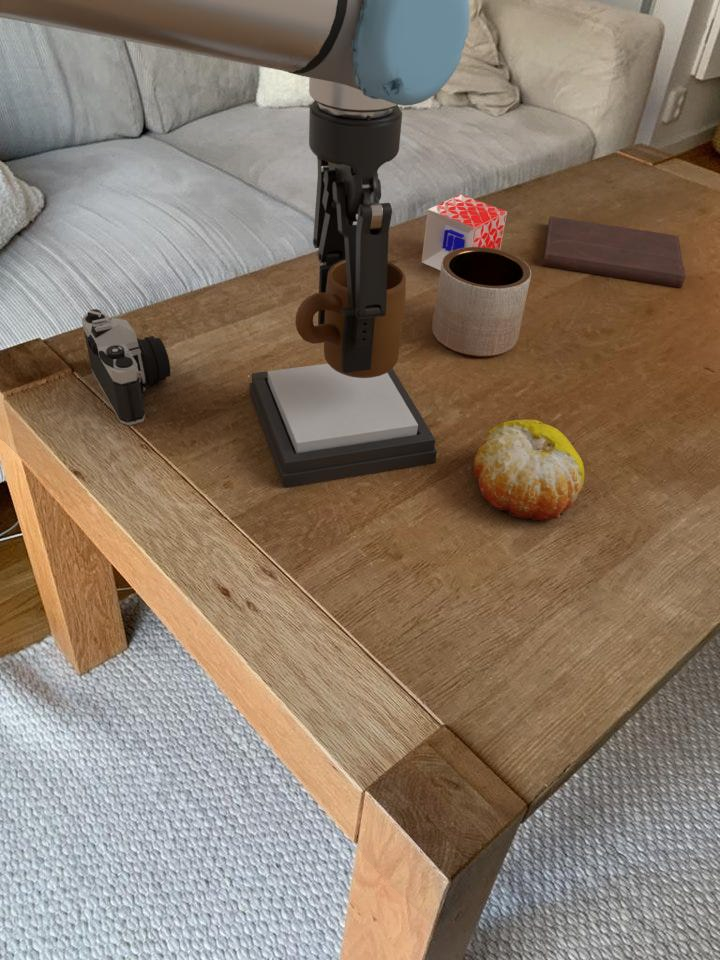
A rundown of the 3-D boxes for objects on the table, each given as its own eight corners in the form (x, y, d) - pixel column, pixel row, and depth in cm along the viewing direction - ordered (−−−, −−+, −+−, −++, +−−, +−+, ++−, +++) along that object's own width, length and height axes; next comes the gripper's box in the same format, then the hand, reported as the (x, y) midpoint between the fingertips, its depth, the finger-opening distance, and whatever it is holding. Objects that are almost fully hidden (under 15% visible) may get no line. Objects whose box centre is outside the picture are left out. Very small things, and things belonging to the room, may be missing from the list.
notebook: (548, 225, 130) (550, 212, 129) (675, 244, 127) (679, 232, 126) (542, 266, 119) (545, 254, 118) (681, 289, 116) (685, 276, 115)
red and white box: (497, 264, 119) (507, 211, 113) (466, 281, 114) (475, 227, 109) (452, 245, 122) (460, 193, 117) (420, 262, 118) (427, 209, 112)
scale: (283, 488, 80) (283, 464, 78) (249, 394, 91) (248, 372, 89) (435, 463, 84) (439, 440, 82) (384, 376, 95) (387, 354, 93)
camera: (192, 411, 88) (183, 335, 83) (121, 431, 85) (108, 353, 79) (148, 359, 97) (138, 288, 91) (82, 375, 93) (68, 302, 88)
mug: (321, 406, 76) (325, 317, 70) (272, 369, 80) (271, 282, 74) (413, 364, 83) (424, 279, 76) (363, 332, 87) (370, 248, 80)
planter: (413, 330, 103) (421, 260, 97) (472, 305, 109) (483, 238, 103) (476, 370, 97) (489, 298, 91) (534, 341, 103) (551, 272, 97)
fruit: (444, 466, 83) (475, 399, 79) (521, 467, 88) (554, 404, 84) (503, 538, 75) (541, 468, 71) (584, 534, 81) (623, 469, 77)
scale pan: (296, 455, 80) (296, 442, 79) (267, 382, 89) (267, 370, 88) (416, 436, 83) (418, 424, 82) (377, 368, 92) (378, 356, 91)
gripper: (447, 146, 60) (415, 400, 75) (362, 64, 74) (349, 292, 89) (349, 151, 58) (336, 412, 73) (280, 67, 72) (281, 299, 87)
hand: (343, 345), depth 81 cm, fingers closed on mug, 8 cm apart
